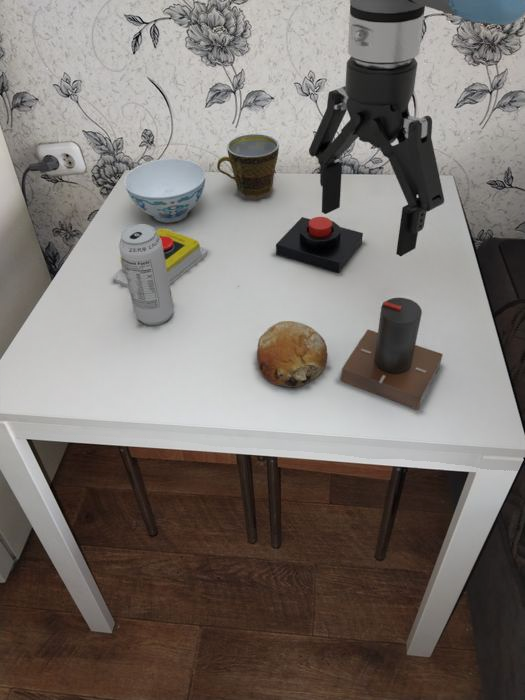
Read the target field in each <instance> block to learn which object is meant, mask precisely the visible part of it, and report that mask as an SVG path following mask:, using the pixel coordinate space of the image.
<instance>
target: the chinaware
mask: <svg viewBox="0 0 525 700" xmlns="http://www.w3.org/2000/svg"><path fill="white" fill-rule="evenodd" d="M123 184H124V187H125V189H126V191H127V192H126V193H128V196H129V198H130V199H131V201H132V202H133V203H134V204H135V206H137V208H139V209H140V210H141V211H143V212H144V213H145V214H147V215H150V216H151V217H153V219H155V221H159V222H161V223H176V222H179V221H181V220H183V219H185V218H186V217H187V216H188V213H189V212H190V211H191V210H192V209H193V208H195V206H196V205H197V204H198V202H199V201H200V199H201V197H202V195H203V192H204V190H205V189H204V188H205V184H206V171H205V168H204V167H202V165H201V164H198V163H197V162H195V161H192V160H189V159H183V158H160V159H154V160H151V161H147V162H144V163H142V164H139V165H138V166H135V167H134V168H132V169H131V170H130V171H128V173H127V174H126V175H125V177H124V180H123Z"/></svg>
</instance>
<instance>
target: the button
mask: <svg viewBox="0 0 525 700" xmlns="http://www.w3.org/2000/svg"><path fill="white" fill-rule="evenodd" d="M310 219H311V220H310V221H309V230H308V232H309V234H310V235H312V236H315V237H326V236H328V235H330V234H331V232H332V221H333V220H331V219H330V218H328V217H325V216H314V217H312V218H310Z"/></svg>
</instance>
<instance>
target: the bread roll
mask: <svg viewBox="0 0 525 700" xmlns="http://www.w3.org/2000/svg"><path fill="white" fill-rule="evenodd" d="M256 355H257V363H258V368H259V372H260V374H261V375H262V376H263V377H264V378H265V379H266V380H267V381H268V382H270V383H272V384H274V385H276V386H283V387H289V388H295V387H301V386H303V385H307V383H309V382H312V381H313V380H315V379H316V378H317V377H318V376H320V374H321V372H323V371H325V368H326V367H327V362H328V347H327V343H326V341H325V339H324V338H323V336H322V335H321V334H320V333H319V332H318V331H317V330H315V329H314V328H312V327H311V326H309V325H307V324H306V323H302V322H298V321H293V320H284V321H283V320H282V321H279V322H277V323H274V324H273V325H272V326H270V327H269V328H268V329H267V330H266V331H265V332H264V333H262V335H260V337H259V338H258V343H257V353H256Z"/></svg>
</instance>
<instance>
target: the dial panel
mask: <svg viewBox="0 0 525 700" xmlns="http://www.w3.org/2000/svg"><path fill="white" fill-rule="evenodd" d="M377 335H378V331H374V330H371V329H366V331H365V333H364V334H363V336H362V337H361V338H360V341H359V342H358V343H357V345H356V347H355V348H354V350H353V351H352V352H351V354H350V355H349V357H348V359H347V361H346V362H345V364H344V365H343V366H342V368H341V377H340V378H341V379H340V381H341V382H342V383H345V384H347V385H350V386H353V387H355V388H358V389H361V390H363V391H367V392H369V393H372V394H373V395H377V396H380V397H382V398H385V399H388V400H390V401H392V402H396V403H398V404H402V405H404V406H407V407H409V408H412V409H415V410H417V411H419V410H420V408H421V406H422V403H423V401H424V400H425V397H426V396H427V393H428V391H429V390H430V388H431V386H432V384H433V382H434V379H435V378H436V375H437V373H438V371H439V369H440V367H441V362H442V358H443V353H442V352H439V351H435V350H432V349H429V348H426V347H423V346H420V345H416V344H415V350H414V355H413V360H412V365H411V367H410V368H409V369H408V370H407V371H406V372H403V373H400V374H390V373H386V372H384V371H382V370H381V369H379V368H378V367H377V366H376V364H375V361H374V357H375V350H376V342H377Z"/></svg>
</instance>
